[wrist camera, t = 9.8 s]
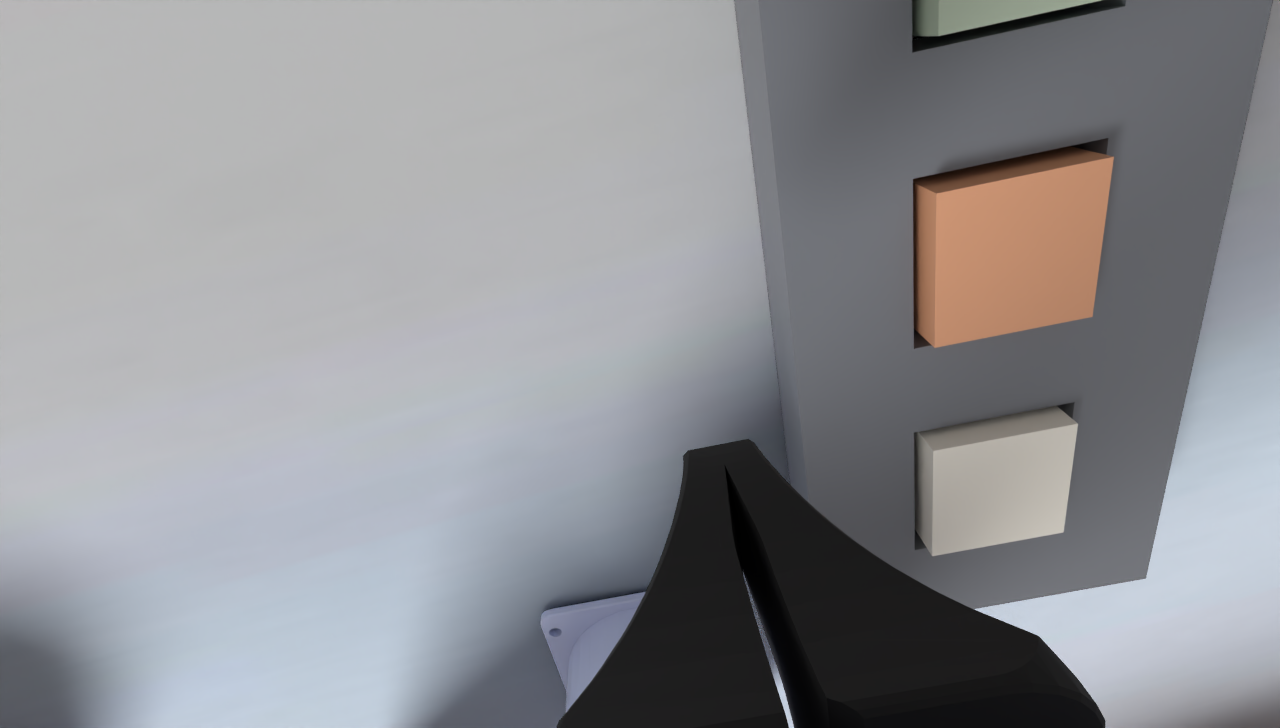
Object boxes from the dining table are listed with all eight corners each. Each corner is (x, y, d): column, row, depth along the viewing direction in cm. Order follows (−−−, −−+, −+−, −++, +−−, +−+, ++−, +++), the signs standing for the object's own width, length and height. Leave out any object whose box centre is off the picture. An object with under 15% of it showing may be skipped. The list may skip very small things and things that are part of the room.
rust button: (1025, 278, 21) (1092, 316, 18) (890, 305, 21) (934, 347, 18) (1037, 138, 19) (1113, 156, 16) (887, 170, 19) (936, 193, 16)
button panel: (1091, 523, 26) (1145, 578, 24) (800, 576, 27) (822, 635, 24) (1248, -471, 14) (1403, -593, 11) (695, -333, 14) (716, -416, 12)
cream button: (1010, 474, 25) (1063, 532, 22) (894, 496, 25) (932, 556, 22) (1018, 374, 23) (1078, 423, 20) (892, 399, 23) (933, 451, 20)
